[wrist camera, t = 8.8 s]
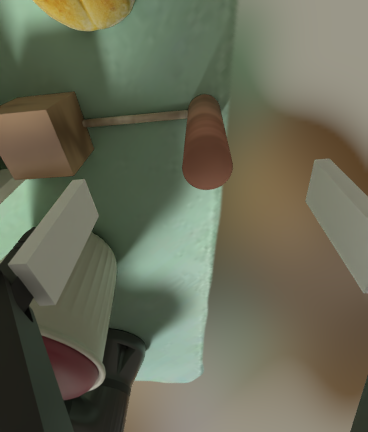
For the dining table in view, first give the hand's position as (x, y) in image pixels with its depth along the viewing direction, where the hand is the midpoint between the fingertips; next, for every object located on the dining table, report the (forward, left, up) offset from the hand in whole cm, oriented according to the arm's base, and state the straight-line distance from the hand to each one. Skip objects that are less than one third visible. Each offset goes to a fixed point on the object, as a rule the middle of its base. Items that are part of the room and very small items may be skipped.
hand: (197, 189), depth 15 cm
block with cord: (0, +8, -14) cm, 16 cm away
